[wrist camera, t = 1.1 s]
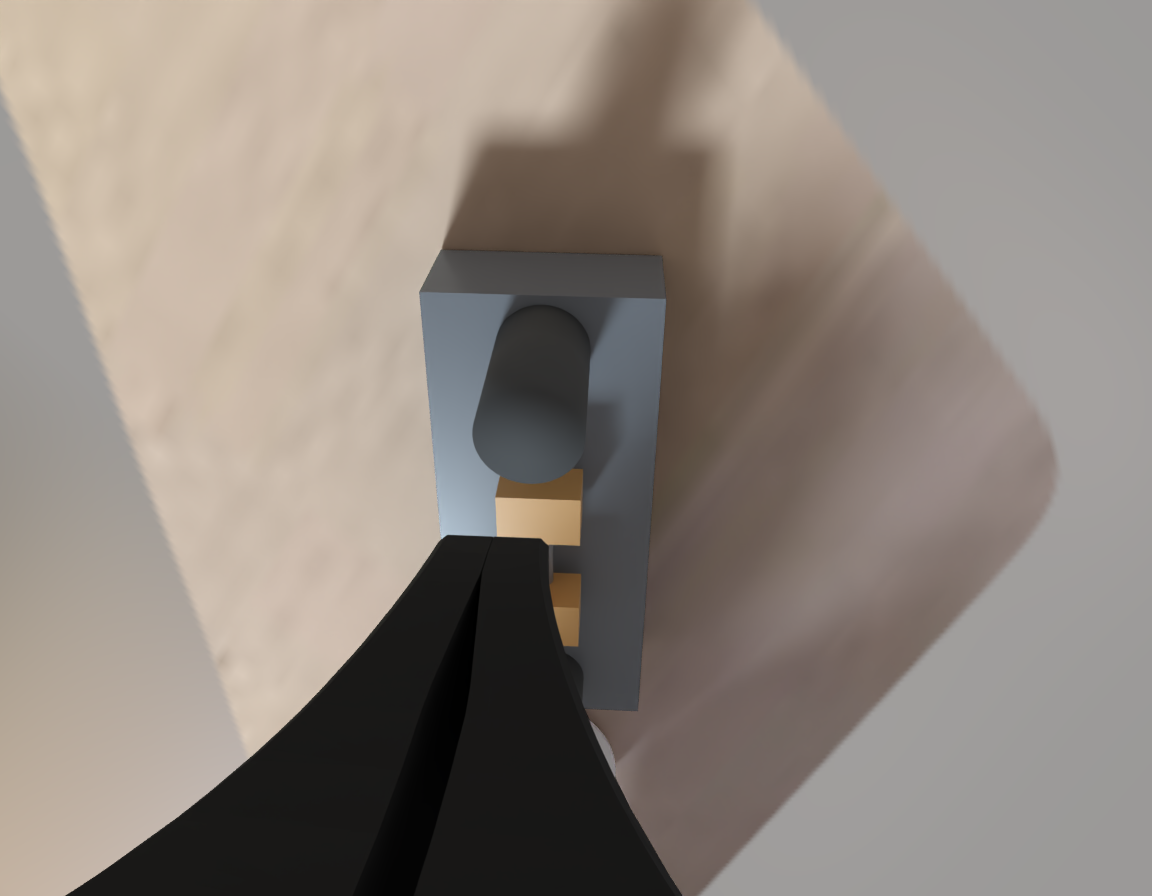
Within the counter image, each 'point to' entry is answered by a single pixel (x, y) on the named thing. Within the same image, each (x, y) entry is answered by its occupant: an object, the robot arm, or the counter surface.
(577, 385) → the cord plug front
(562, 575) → the tan wooden dumbbell piece
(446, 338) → the grey base plate
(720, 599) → the counter surface
